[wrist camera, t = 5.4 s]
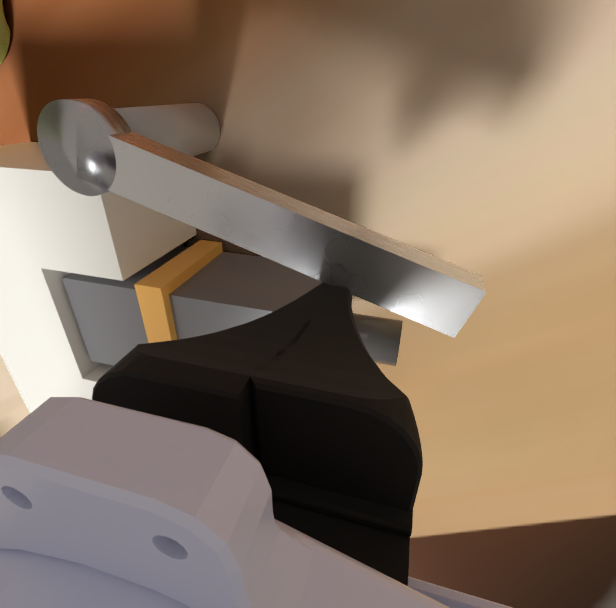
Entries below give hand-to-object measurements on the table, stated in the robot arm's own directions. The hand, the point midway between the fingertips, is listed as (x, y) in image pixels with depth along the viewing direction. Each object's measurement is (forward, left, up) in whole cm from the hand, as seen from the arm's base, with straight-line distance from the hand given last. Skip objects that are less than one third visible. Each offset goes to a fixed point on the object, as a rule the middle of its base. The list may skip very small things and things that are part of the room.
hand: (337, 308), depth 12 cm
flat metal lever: (+3, +3, 0) cm, 4 cm away
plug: (-4, +5, -6) cm, 9 cm away
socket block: (-3, +12, -6) cm, 14 cm away
